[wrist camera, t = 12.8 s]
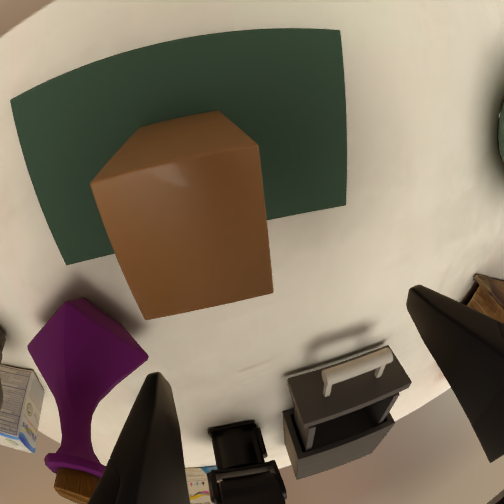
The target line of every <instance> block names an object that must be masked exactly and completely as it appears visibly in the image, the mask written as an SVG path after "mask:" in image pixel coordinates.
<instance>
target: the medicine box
mask: <svg viewBox="0 0 504 504" xmlns="http://www.w3.org/2000/svg"><path fill="white" fill-rule="evenodd" d="M0 379H1V384H2V390H3V404H2V408H1V410H0V444H1V445H4V446H7V447H11V448H14V449H17V450H21V451H25V452H29V453H34V452H35V447H36V440H37V432H38V425H39V419H40V413H41V408H42V403H43V397H44V390H43V388H42V386H41V384H40V382H39V381H38V379H37V377H36V375H35V373H34V372H33V371H31V370H25V369H19V368H14V367H9V366H5V365H0Z"/></svg>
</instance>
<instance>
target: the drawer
mask: <svg viewBox="0 0 504 504" xmlns="http://www.w3.org/2000/svg"><path fill="white" fill-rule="evenodd" d="M287 383H288V387H289V390H290V392H291V395H292V398H293V401H294V404H295V408H294V426H295V428H296V431H297V434H298V437H299V440H300V443H301V446H302V449H303V452H307V451H310V450H314V449H317V448H320V447H323V446H326V445H329V444H332V443H334V442H337V441H340V440H343V439H345V438H348V437H351V436H353V435H356V434H358V433H361V432H363V431H366V430H368V429H370V428H373V427H375V426H377V425H380V424H382V422H383V421H384V419H385V417H386V416H387V414H388V413H389V411H390V409H391V408H392V406H393V405H394V403H395V401H396V399H397V398H398V396H399V392H400V391H402V390H404V389H407V388H409V386H410V384H411V383H412V382H411V380H410V378H409V377H408V375H407V374H406V372H405V370H404V369H403V367H402V366H401V364H400V363H399V361H398V359H397V358H396V356H395V355H394V353H393V352H392V350H391V348H390V347H389V345H387V346H384V347H382V348H379V349H377V350H374V351H371V352H369V353H366V354H363V355H361V356H358V357H355V358H352V359H349V360H346V361H343V362H341V363H338V364H335V365H331V366H328V367H325V368H322V369H319V370H316V371H312V372H309V373H306V374H302V375H299V376H295V377H292V378H288V379H287Z"/></svg>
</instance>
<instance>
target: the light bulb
mask: <svg viewBox="0 0 504 504" xmlns="http://www.w3.org/2000/svg"><path fill="white" fill-rule="evenodd" d="M5 341H6V338H5V335H4V334H3V332H2V331H1V329H0V363H1V360H2V350H3V347H4V344H5ZM2 404H3V390H2V384H1V379H0V410H1V408H2Z"/></svg>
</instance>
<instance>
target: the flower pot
mask: <svg viewBox="0 0 504 504" xmlns="http://www.w3.org/2000/svg"><path fill="white" fill-rule="evenodd" d="M498 140H499V150H500V155H501V158H502V161H503V163H504V102H503V105H502V109H501V113H500V119H499V128H498Z"/></svg>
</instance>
